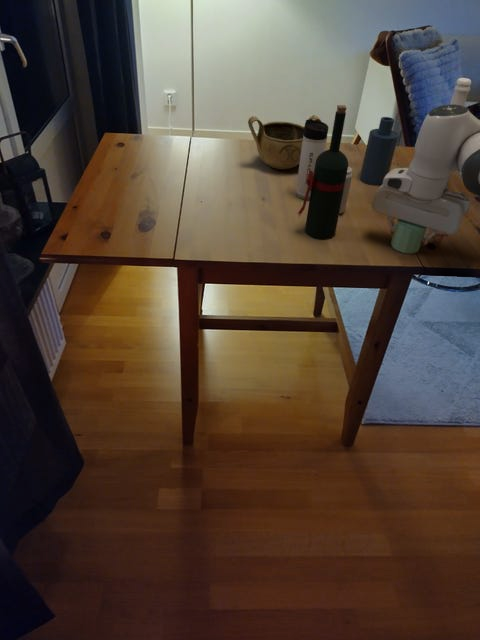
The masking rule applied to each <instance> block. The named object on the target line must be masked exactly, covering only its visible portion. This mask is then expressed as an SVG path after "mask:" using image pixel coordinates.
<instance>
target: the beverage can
mask: <svg viewBox="0 0 480 640" xmlns="http://www.w3.org/2000/svg"><path fill="white" fill-rule="evenodd" d="M352 178H353V168H352V167H350V166H349V165H348V170H347V175H346V180H345V186H344V191H343V196H342V201H341V206H340V211H339V215H340V214H341V215H342V214H343V213H344V212H345V211H346V206H347V202H348V197H349V192H350V188H351V183H352Z"/></svg>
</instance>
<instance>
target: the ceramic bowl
mask: <svg viewBox="0 0 480 640" xmlns="http://www.w3.org/2000/svg"><path fill="white" fill-rule="evenodd" d="M308 119H312V120H316V121H321V122H322V120H321V118H320V117H319V116H318V115H316V114H312V115H311V116H309V118H308ZM255 122H257V124H258V130H257V133H256V130H255V128H254V126H253V124H254V123H255ZM247 125H248V128H249V130H250V133H251V136H252V137H253V139H254V141H255V143H256V144H255V145H256V149H257V152H258V156H259V157H260V159H261V160H262V162H263V163H265V164H266V165H268V167H271V168H273V169H276V170H290V169H292V168H295V167H297V166H299V165H300V157H301V149H302V141H303V135H304V128H305V125H304V126H303V125H301V124H298V123H295V122H290V121H268V122H265V123H263V122H262V121H261V120H260V119H259V118H258V117H257V116H254V115H252V116H250V117H249V118H248V121H247Z"/></svg>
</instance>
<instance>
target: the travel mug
mask: <svg viewBox="0 0 480 640" xmlns="http://www.w3.org/2000/svg"><path fill="white" fill-rule="evenodd" d="M304 126H305V128H304V135H303V141H302V149H301V157H300V164H299V165H298V166H299V167H298V172H297V173H298V174H297V179H296V181H297V182H296V189H295V196H296V197H297V198H299V199H301V200H304V199H305V196H306V192H307V188H308V185H307V177H309V170H311V171H312V172H313V175H314V169H315V163H316V159H317V157H318V156H319V155H320V154H321V153H322V152H324V151H326V149H327V148H326V147H327V139H328V133H329V125H328V124H326V123H325V122H323V121H322V120H321V121H316V120H312V119H309V118H308V119H306V120H305V122H304ZM310 194H311V191H309V195H308V198H307V201H310Z"/></svg>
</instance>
